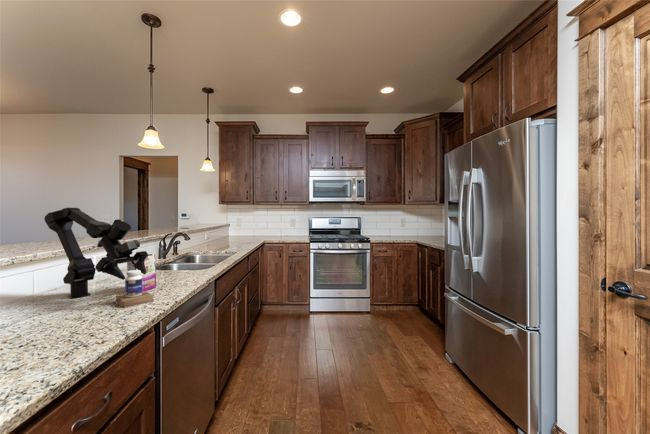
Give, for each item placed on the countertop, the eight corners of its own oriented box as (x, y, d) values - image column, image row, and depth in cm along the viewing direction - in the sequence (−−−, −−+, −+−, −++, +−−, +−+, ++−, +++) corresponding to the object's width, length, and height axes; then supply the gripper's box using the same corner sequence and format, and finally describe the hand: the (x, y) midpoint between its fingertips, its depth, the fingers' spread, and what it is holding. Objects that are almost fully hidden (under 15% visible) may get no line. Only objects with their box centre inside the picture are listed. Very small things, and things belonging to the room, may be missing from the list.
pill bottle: (127, 298, 109) (127, 273, 109) (123, 295, 112) (122, 271, 112) (144, 295, 113) (144, 270, 113) (139, 292, 117) (139, 268, 117)
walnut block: (115, 302, 112) (115, 296, 112) (143, 296, 120) (143, 290, 120) (124, 307, 106) (123, 301, 106) (153, 301, 114) (153, 295, 114)
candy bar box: (147, 286, 135) (147, 253, 135) (156, 287, 134) (156, 253, 134) (126, 293, 124) (126, 256, 124) (136, 294, 123) (135, 257, 123)
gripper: (100, 236, 104) (123, 267, 102) (144, 232, 122) (165, 258, 120) (85, 256, 107) (107, 287, 104) (131, 249, 125) (151, 276, 122)
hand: (135, 276), depth 112 cm, fingers open, 9 cm apart
